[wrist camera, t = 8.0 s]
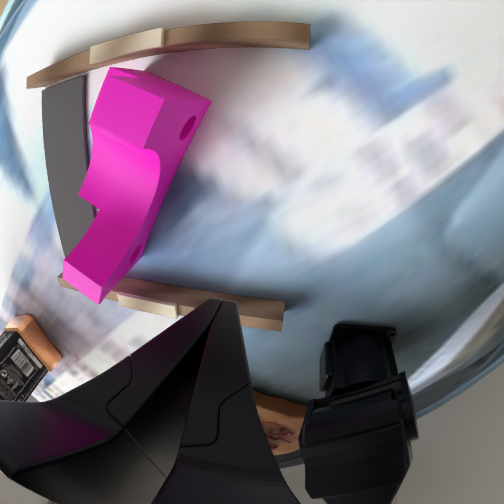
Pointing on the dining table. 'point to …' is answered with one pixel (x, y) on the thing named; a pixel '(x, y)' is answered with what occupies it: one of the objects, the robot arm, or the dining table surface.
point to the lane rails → (167, 41)
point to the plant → (280, 422)
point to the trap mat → (67, 158)
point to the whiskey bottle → (24, 358)
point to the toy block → (129, 172)
